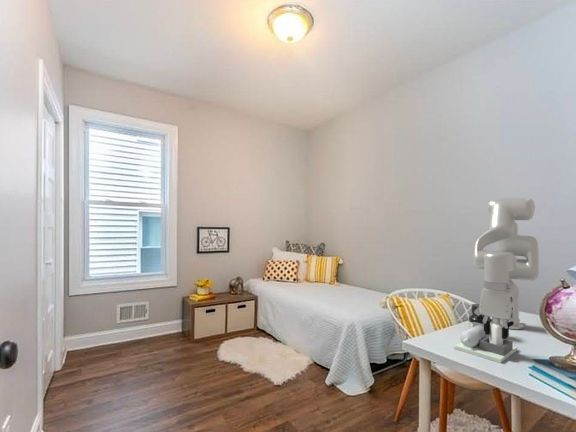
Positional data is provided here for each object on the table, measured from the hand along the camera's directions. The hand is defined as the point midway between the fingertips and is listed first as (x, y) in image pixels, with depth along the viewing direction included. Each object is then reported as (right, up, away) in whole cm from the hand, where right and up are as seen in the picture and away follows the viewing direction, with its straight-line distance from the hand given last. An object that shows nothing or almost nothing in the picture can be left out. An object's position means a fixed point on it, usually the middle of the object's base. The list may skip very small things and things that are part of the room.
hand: (496, 335), depth 115 cm
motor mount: (-2, -6, +2) cm, 7 cm away
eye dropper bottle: (0, -4, 0) cm, 4 cm away
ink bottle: (+7, -7, +20) cm, 22 cm away
